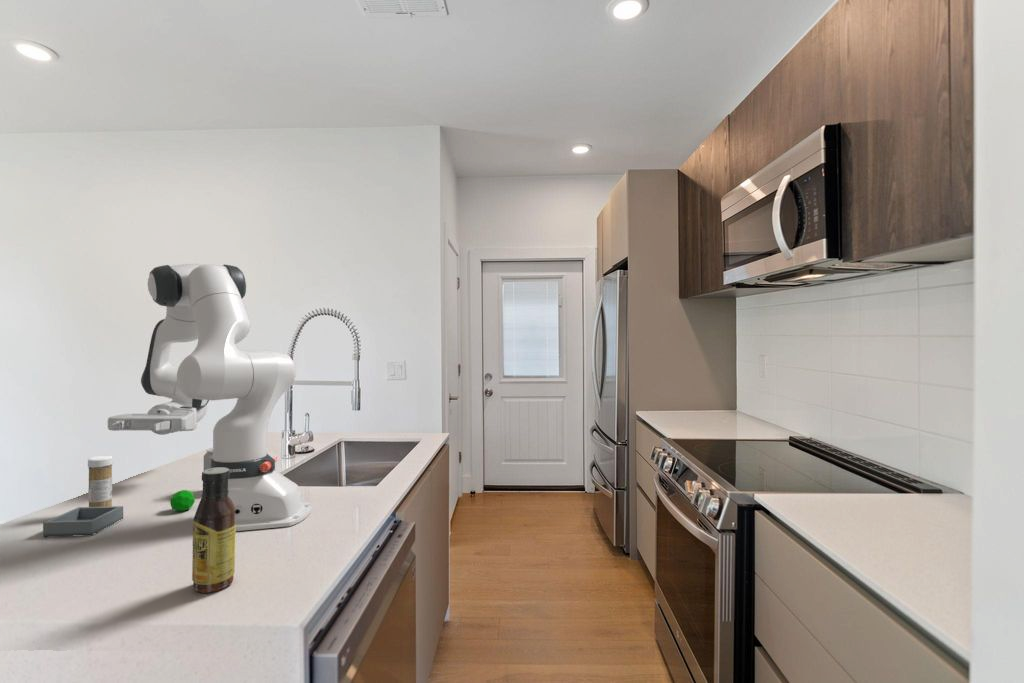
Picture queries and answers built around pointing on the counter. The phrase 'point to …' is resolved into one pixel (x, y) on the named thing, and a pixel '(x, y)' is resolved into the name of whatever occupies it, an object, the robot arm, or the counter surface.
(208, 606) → the counter surface
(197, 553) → the sauce bottle
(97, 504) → the sprinkles bottle
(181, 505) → the polyhedron
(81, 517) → the bin
